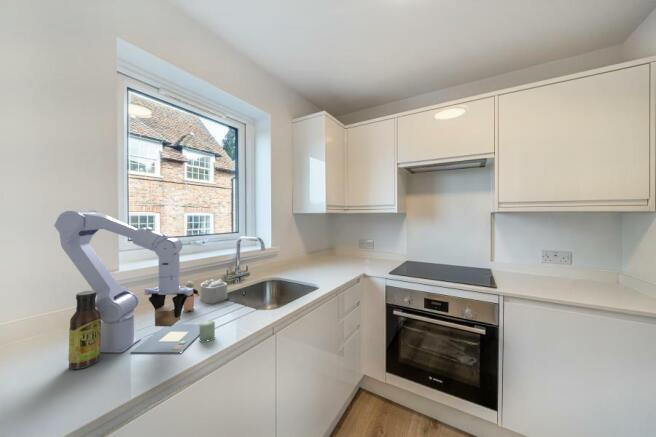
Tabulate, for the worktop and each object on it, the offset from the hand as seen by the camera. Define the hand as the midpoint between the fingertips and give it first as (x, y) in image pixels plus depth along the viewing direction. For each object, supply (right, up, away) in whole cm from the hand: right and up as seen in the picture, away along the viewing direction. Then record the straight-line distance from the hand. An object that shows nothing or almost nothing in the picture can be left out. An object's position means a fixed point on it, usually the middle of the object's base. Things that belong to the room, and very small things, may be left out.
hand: (169, 316), depth 80 cm
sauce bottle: (-16, -9, -12) cm, 21 cm away
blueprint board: (0, -8, +3) cm, 9 cm away
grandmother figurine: (-8, -8, +26) cm, 28 cm away
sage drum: (+11, -9, +3) cm, 14 cm away
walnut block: (0, -2, -1) cm, 2 cm away
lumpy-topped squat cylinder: (-5, -8, +40) cm, 41 cm away
